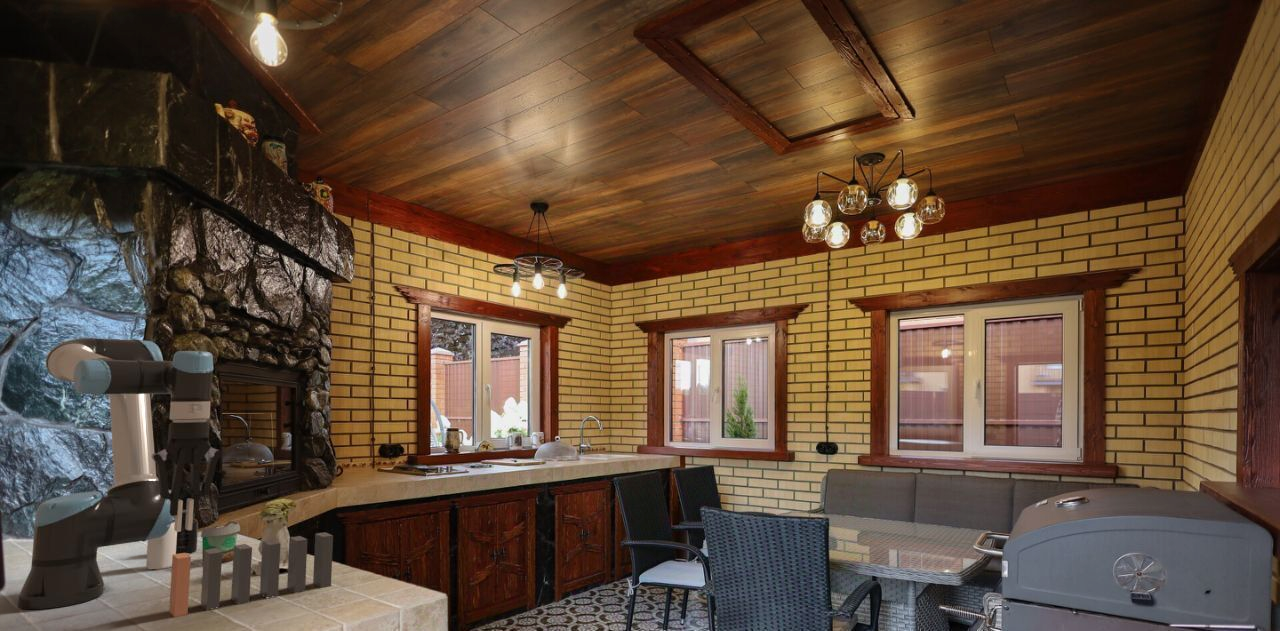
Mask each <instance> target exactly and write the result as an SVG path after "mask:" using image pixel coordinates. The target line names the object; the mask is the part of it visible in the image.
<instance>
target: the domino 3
mask: <svg viewBox="0 0 1280 631" xmlns="http://www.w3.org/2000/svg"><path fill="white" fill-rule="evenodd" d="M252 558H253V547H252V546H250V545H249V544H248V543H247V544H246V543H243V544H236V545H235V546H234V555H233V561H232V574H231V577H232V578H231V594H230V596H231V597H230V599H232V600H233V601H232V600H231V601H232V602H234V601H235V602H236V603H237V604H236V603H235V602H234V603H235V604H236V605H240V604H239V603H242V604H246V603H245V602H247V603H249V602H250V597H251V578H252V577H251V576H252V573H251V567H252ZM248 601H249V602H248Z"/></svg>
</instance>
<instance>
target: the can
mask: <svg viewBox="0 0 1280 631" xmlns="http://www.w3.org/2000/svg"><path fill="white" fill-rule="evenodd" d="M174 525H175V519H173V520H172V523H171V526H170V528H169V530H168V531H167V533H166V534H165V535H164V536H162V537H160V538H156V539H150V540H147V544H146V545H147V548H146V564H145V566H146V569H147V570H148V569H161V570H164V569H163V568H167V569H169V568H168V567H170V568H172V567H171V566H172V557H173V554H176V541H177V532H176V531H175V530H174Z"/></svg>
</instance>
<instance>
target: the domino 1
mask: <svg viewBox="0 0 1280 631" xmlns="http://www.w3.org/2000/svg"><path fill="white" fill-rule="evenodd" d="M191 560H192V557H191V555H190V554H187V553H180V554H173V557H172V567H171V572H170V573H171V575H170V576H171V578H170V588H169V589H170V590H169V608H168V613H170V614H171V615H172V616H173V617H174V618H176V616H177V617H182V616H187V615H189V614H188V612H189V611H188V609H189V594H190V579H191V565H192V564H191V563H192V561H191ZM186 614H187V615H186ZM181 615H182V616H181Z"/></svg>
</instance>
